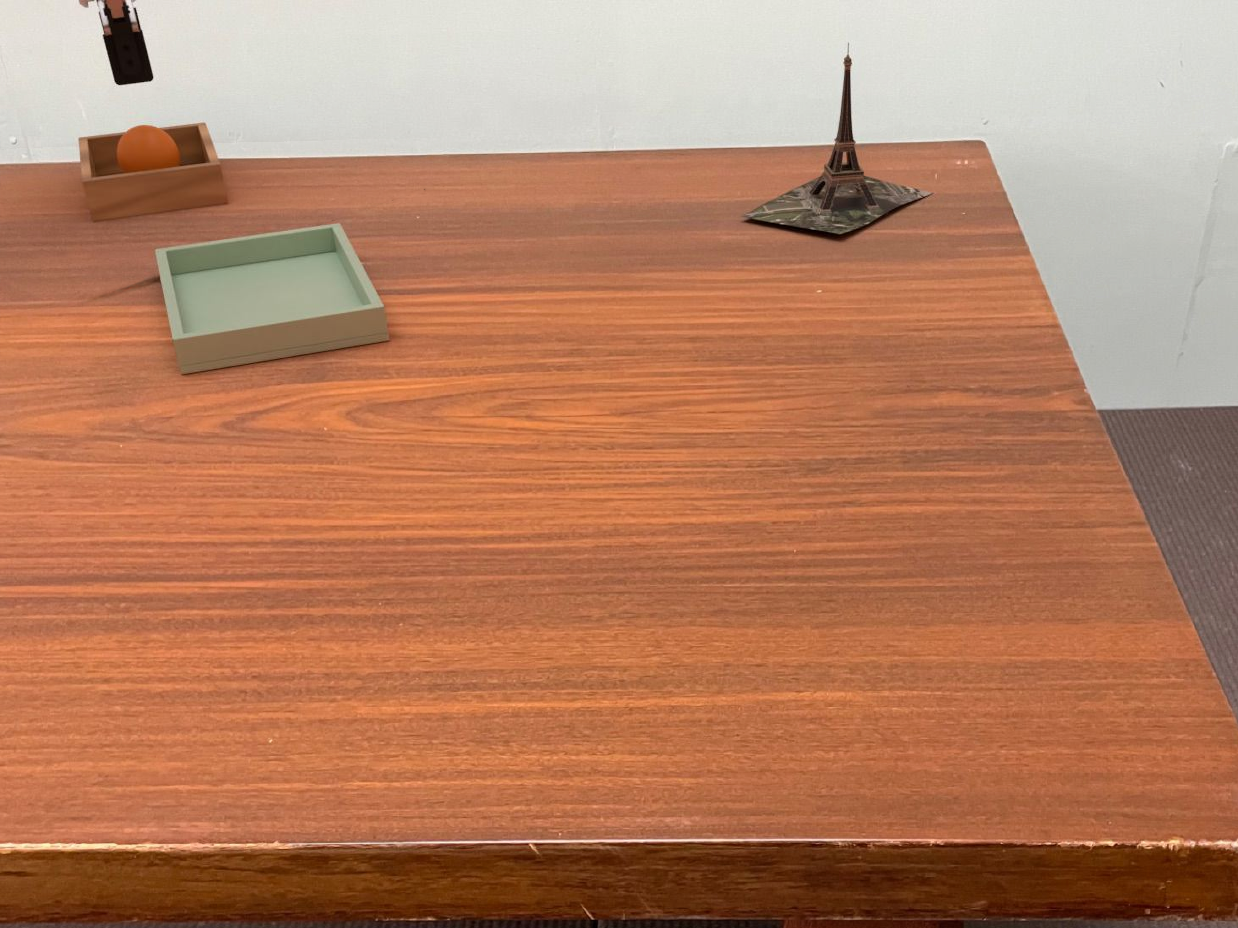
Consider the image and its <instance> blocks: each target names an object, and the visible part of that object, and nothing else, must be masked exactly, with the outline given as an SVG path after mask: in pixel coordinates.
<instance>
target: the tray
mask: <svg viewBox="0 0 1238 928" xmlns="http://www.w3.org/2000/svg"><path fill="white" fill-rule="evenodd" d="M154 253H155V259H156V264H157V269H158V273H159V279H160V283H161V288H162V293H163V298H164V304H165V309H166V313H167V318H168V319H167V320H168V324H169V329H170V335H171V338H172V339H171V340H172V343H173V347H174V351H175V355H176V359H177V363H178V367H179V372H180V375H186V374H187V375H188V374H193V373H200V372H206V371H212V370H216V369H217V370H219V369H223V368H230V367H236V366H242V365H249V364H254V363H261V362H267V361H272V360H278V359H285V358H290V357H291V358H292V357H296V356H302V355H309V354H314V353H315V354H316V353H322V352H327V351H333V350H339V349H346V348H352V347H357V346H363V345H370V344H376V343H382V342H383V343H384V342H387V341H390V334H389V328H388V321H387V314H386V308H385V305H384V303H383V301H382V300H381V298H380V296H379V294H378V292H377V289H376V287H375V286H374V284H373V282H372V281H371V279H370V276H369V274H368V273H367V271H366V269H365V267H364V266H363V263H362V262H361V260H360V258H359V256H358V254H357V253H356V250H355V249H354V247H353V245H352V244H351V241H350V239H349V238H348V235H347V234H346V232H345V230H344V228H343V227H342V225H341V223H340V222H337V223H331V224H324V225H323V224H322V225H317V226H311V227H310V226H309V227H302V228H295V229H288V230H281V231H273V232H267V233H260V234H253V235H246V236H238V237H231V238H224V239H217V240H210V241H204V242H203V241H202V242H196V243H189V244H182V245H175V246H168V247H167V246H166V247H160V248H155V249H154Z"/></svg>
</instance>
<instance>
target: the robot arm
mask: <svg viewBox="0 0 1238 928" xmlns="http://www.w3.org/2000/svg"><path fill="white" fill-rule="evenodd" d="M95 1H96V5H97V7H98V10H99V11H98V15H99V19H100V23H101V27H102V31H103V34H102V39H103V42H104V47H105V50H106V53H107V58H108V62H109V65H110V70H111V72H112V76H113V81H114V83H115V84H116V85H117V86H128V85H134V84H141V83H143V84H144V83H150V82H152V81H153V80H154V73H153V69H152V65H151V61H150V57H149V53H148V48H147V45H146V40H145V37H144V33H143V29H142V27H141V23H140V19H139V15H138V10H137V7H136V6H135V7H134V4H133V3H135V2H136V1H137V0H78V4H79V5H80V6H82V7H83V8H85V9H87V8H90V7H89V2H95Z"/></svg>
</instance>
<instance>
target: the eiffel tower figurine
mask: <svg viewBox="0 0 1238 928" xmlns="http://www.w3.org/2000/svg"><path fill="white" fill-rule="evenodd" d="M849 51H850V43H849V42H847V54H846V56H845V57H844V58H843V65H844V71H843V84H842V93H841V103H840V113H839V120H838V127H837V128H838V129H837V133H836V137H835V138H834V139H833V141H834V146H833V149H832V152H831V155H830V157H829V160H828V163H824V165H823V172H822V173H821V175H820V176H817V177H815V178H814V179H811V180H810V181H808V182H806V183H804V184H802V185H799V186H797V187H795V188H793V189H790V190H789V191H787V192H785V193H782V194H781V195H778V196H777V197H775V198H773V199H771V200H769V201H767V202H765V203H763V204H761V205H760V206H758V207H756V208H754V209H752V210H751V211H749V212H747V213H745V214H742V215H741V216H740V217H742V218H745V219H746V218H747V219H753V220H756V221H761V222H768V223H773V224H779V225H786V226H791V227H797V228H803V229H809V230H816V231H820V232H821V231H822V232H828V233H832V234H837V235H842V234H845V233H848V232H851V231H854V230H856V229H857V230H858V229H860V228H863V227H865V226H866V225H869V224H870V223H872V222H873V221H875V220H877V219H879V218H880V217H881V216H883V215H889V212H890V211H892V210H894V209H896V208H898V207H900V206H903V205H905V204H908V203H911V202H914V201H916V200H919V199H921V198H924V197H927V196H929V195H932V194H933V192H931V191H927V190H923V189H918V188H914V187H909V186H906V185H901V184H896V183H892V182H888V181H884V180H881V179H878V178H874V177H871V176H867V175H865V171H864V169H862V167H861V166H860V163H859V160H858V156H857V151H856V147H855V145H856V143H857V142H856V140H855V139H854V134H853V119H852V86H851V85H852V84H851V83H852V82H851V81H852V79H851V72H852V71H851V69H852V68H851V67H852V65H853V62H852V60H853V59H852V58H851V57H850V55H849ZM844 153H845V155H846V157H845V158H846V162H843V159H844Z"/></svg>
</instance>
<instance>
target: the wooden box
mask: <svg viewBox="0 0 1238 928" xmlns="http://www.w3.org/2000/svg"><path fill="white" fill-rule="evenodd" d="M158 128H159V129H161V130H163V131H165V132H166V133H167V134H168V135H169V136H170V137H171V138H172V139H173V140H174V142H175V144H176V146H177V148H178V151H179V155H180V166H179V167H172V168H164V169H156V170H148V171H140V172H133V173H125V174H124V173H123V172H122V170H121V168H120V166H119V163H118V160H117V147H118V143H119V141H120V139H121V137H122V136H123V135H124V133H125V132H126V131H123V132H122V131H121V132H114V133H106V134H105V133H104V134H97V135H89V136H81V137H78V138H77V139H78V150H79V161H80V173H81V174H80V175H81V183H82V186H83V190H84V194H85V198H86V201H87V205H88V208H89V212H90V217H91V221H92V223H99V222H106V221H115V220H121V219H122V220H123V219H129V218H137V217H143V216H151V215H158V214H159V215H160V214H165V213H172V212H173V213H174V212H181V211H186V210H187V211H188V210H195V209H201V208H203V209H204V208H210V207H217V206H224V205H229V198H228V193H227V187H226V184H225V178H224V174H223V169H222V164H221V162H220V159H219V156H218V154H217V151H216V148H215V145H214V143H213V140H212V137H211V134H210V131H209V129H208V126H207V123H206V122H196V123H189V124H179V125H172V126H171V125H170V126H164V127H158Z"/></svg>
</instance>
